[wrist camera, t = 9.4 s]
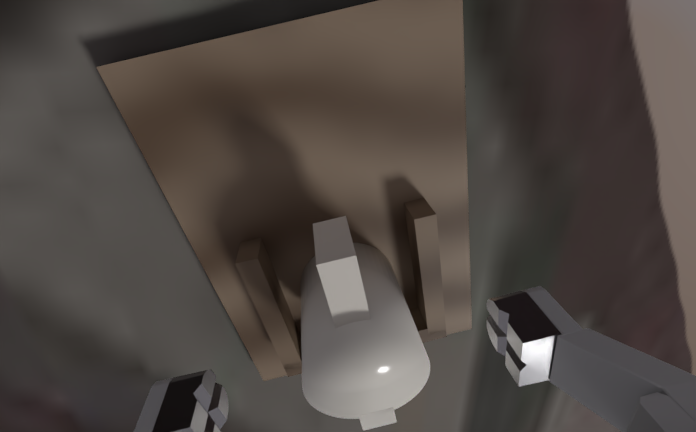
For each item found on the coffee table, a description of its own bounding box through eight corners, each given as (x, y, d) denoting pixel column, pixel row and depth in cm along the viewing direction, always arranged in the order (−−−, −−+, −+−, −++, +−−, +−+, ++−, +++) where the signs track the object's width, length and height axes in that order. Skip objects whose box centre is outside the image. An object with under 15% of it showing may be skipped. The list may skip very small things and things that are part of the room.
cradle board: (466, 318, 27) (484, 350, 24) (264, 369, 26) (261, 407, 24) (452, -17, 16) (484, -26, 13) (107, 64, 15) (69, 72, 13)
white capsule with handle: (400, 314, 24) (435, 412, 18) (316, 335, 24) (324, 440, 18) (377, 180, 19) (417, 253, 13) (270, 205, 19) (258, 292, 13)
